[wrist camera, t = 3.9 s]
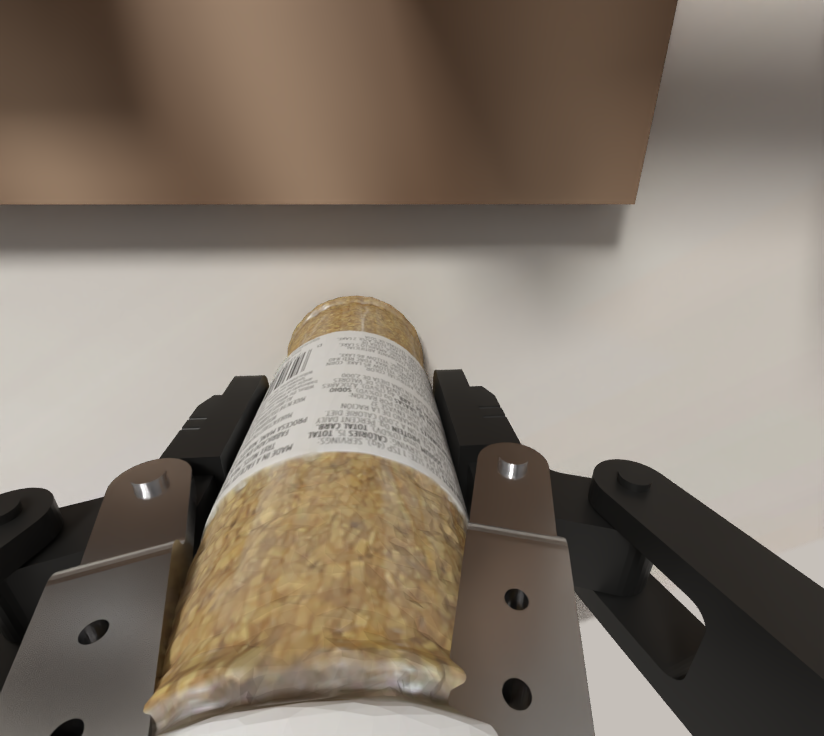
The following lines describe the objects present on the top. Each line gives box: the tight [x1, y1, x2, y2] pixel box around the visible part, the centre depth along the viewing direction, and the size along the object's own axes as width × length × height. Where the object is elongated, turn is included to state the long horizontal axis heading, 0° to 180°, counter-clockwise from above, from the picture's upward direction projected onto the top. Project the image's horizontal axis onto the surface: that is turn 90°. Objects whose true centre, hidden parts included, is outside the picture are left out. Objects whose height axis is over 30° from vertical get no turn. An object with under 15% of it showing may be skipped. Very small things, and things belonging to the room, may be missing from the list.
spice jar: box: [143, 296, 498, 736], centre depth 8 cm, size 5×5×13 cm
